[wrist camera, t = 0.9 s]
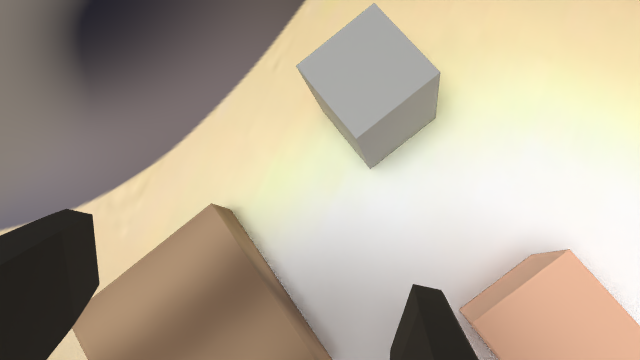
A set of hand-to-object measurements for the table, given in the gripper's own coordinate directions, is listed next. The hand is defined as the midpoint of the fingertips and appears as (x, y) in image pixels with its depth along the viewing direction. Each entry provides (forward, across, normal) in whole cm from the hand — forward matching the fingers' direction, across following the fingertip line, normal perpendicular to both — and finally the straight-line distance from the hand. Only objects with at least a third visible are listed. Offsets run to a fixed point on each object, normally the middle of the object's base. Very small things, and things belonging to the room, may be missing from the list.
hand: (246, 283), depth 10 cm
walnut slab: (+10, +4, +14) cm, 17 cm away
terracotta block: (+10, -12, +8) cm, 17 cm away
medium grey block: (+17, -3, +2) cm, 17 cm away
